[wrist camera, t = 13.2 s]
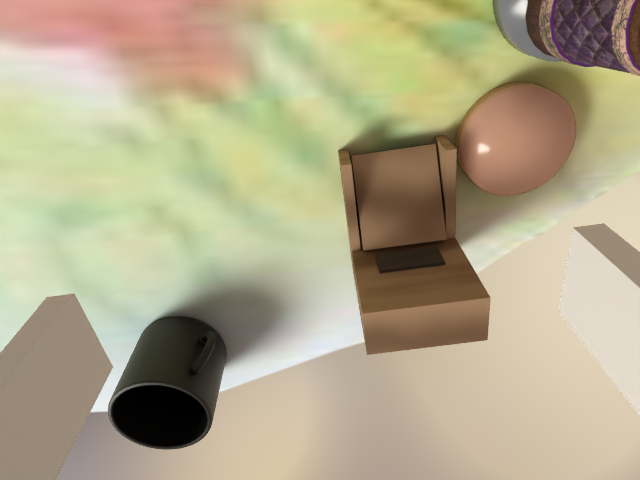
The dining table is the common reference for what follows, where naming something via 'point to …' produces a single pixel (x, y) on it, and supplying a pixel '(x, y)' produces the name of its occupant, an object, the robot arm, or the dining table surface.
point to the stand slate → (516, 27)
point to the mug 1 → (170, 385)
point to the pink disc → (515, 138)
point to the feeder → (410, 250)
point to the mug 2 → (587, 32)
